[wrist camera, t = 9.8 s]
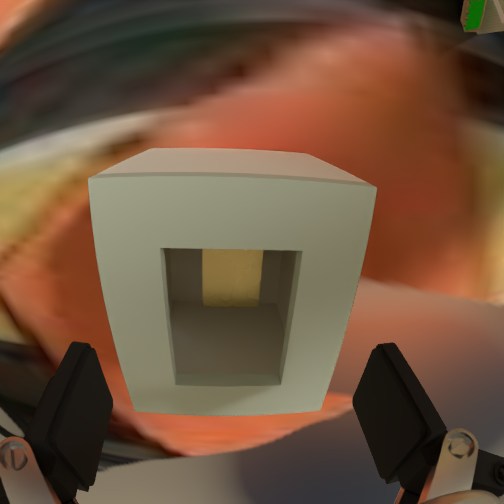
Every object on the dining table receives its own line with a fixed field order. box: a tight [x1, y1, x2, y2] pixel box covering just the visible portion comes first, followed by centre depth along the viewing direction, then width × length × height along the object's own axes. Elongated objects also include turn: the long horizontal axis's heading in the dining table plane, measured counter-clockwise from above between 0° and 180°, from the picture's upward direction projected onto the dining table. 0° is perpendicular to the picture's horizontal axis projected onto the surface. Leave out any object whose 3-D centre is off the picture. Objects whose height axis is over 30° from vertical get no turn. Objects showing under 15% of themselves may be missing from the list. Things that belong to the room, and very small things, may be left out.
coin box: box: [88, 148, 377, 416], centre depth 17 cm, size 12×10×10 cm
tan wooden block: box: [202, 249, 263, 307], centre depth 18 cm, size 5×3×5 cm, turn 176°
